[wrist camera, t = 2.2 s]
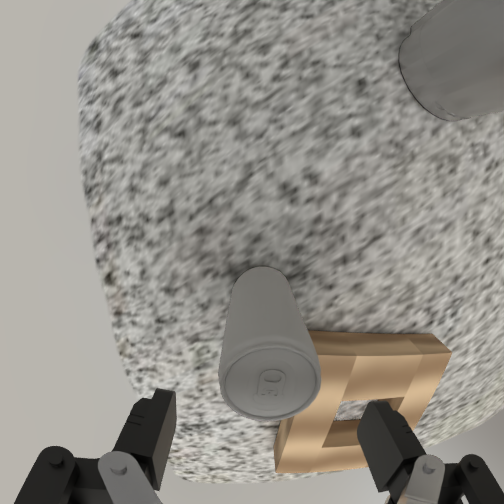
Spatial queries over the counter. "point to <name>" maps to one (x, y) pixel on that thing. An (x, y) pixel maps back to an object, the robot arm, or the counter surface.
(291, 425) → the socket
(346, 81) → the counter surface
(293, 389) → the beverage can
